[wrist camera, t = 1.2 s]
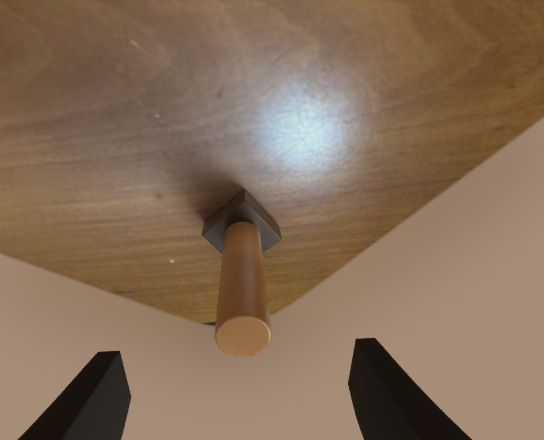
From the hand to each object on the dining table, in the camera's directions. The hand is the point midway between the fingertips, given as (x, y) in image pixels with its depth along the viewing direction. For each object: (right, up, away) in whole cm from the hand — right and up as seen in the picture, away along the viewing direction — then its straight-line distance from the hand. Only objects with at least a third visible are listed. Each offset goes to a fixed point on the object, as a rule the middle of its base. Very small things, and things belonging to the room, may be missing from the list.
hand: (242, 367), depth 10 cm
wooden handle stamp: (-1, +4, +9) cm, 10 cm away
